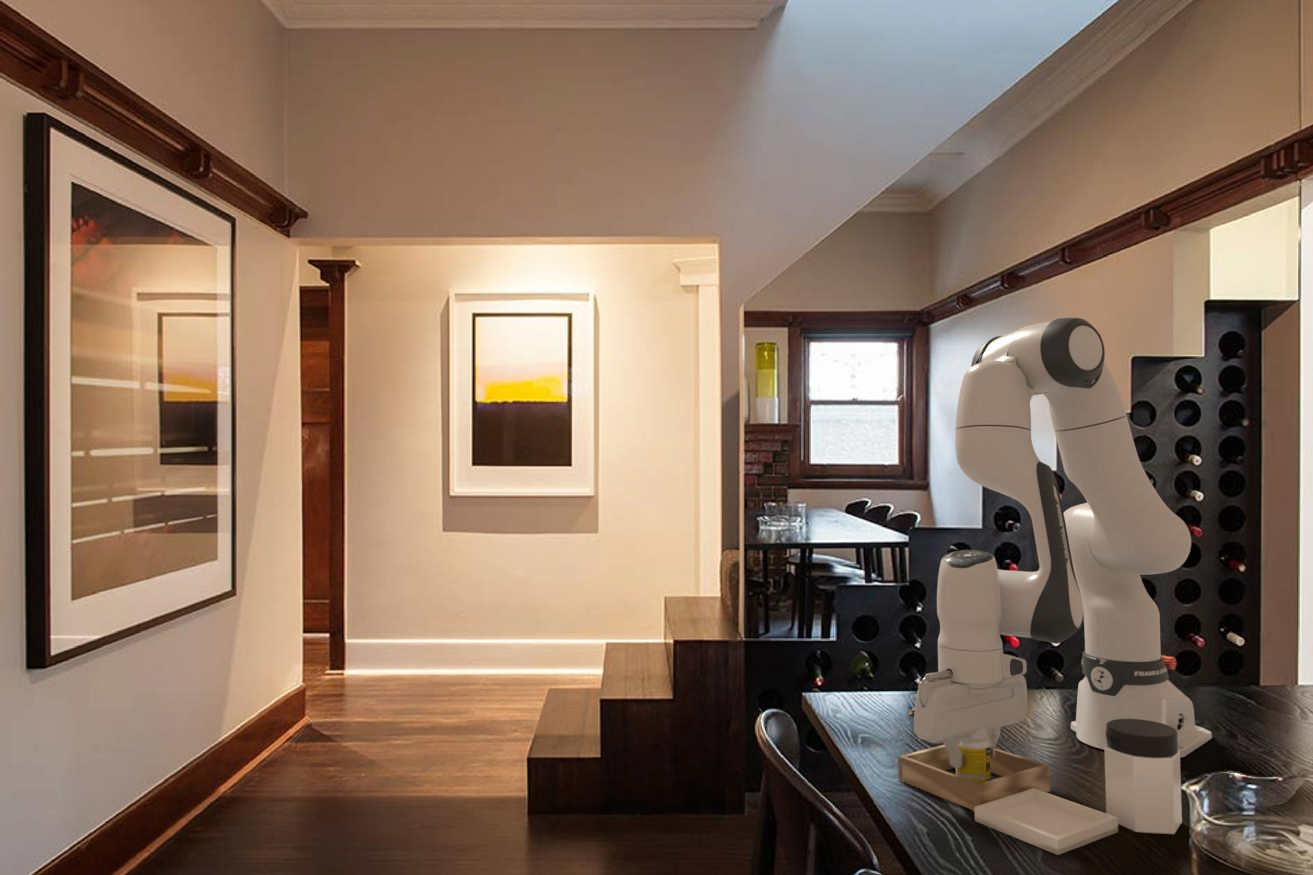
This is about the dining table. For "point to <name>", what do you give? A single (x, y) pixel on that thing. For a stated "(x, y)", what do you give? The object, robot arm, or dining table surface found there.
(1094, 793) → the dining table surface
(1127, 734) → the jar
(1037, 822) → the tray
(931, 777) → the frame
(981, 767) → the supplement bottle
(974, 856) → the dining table surface
